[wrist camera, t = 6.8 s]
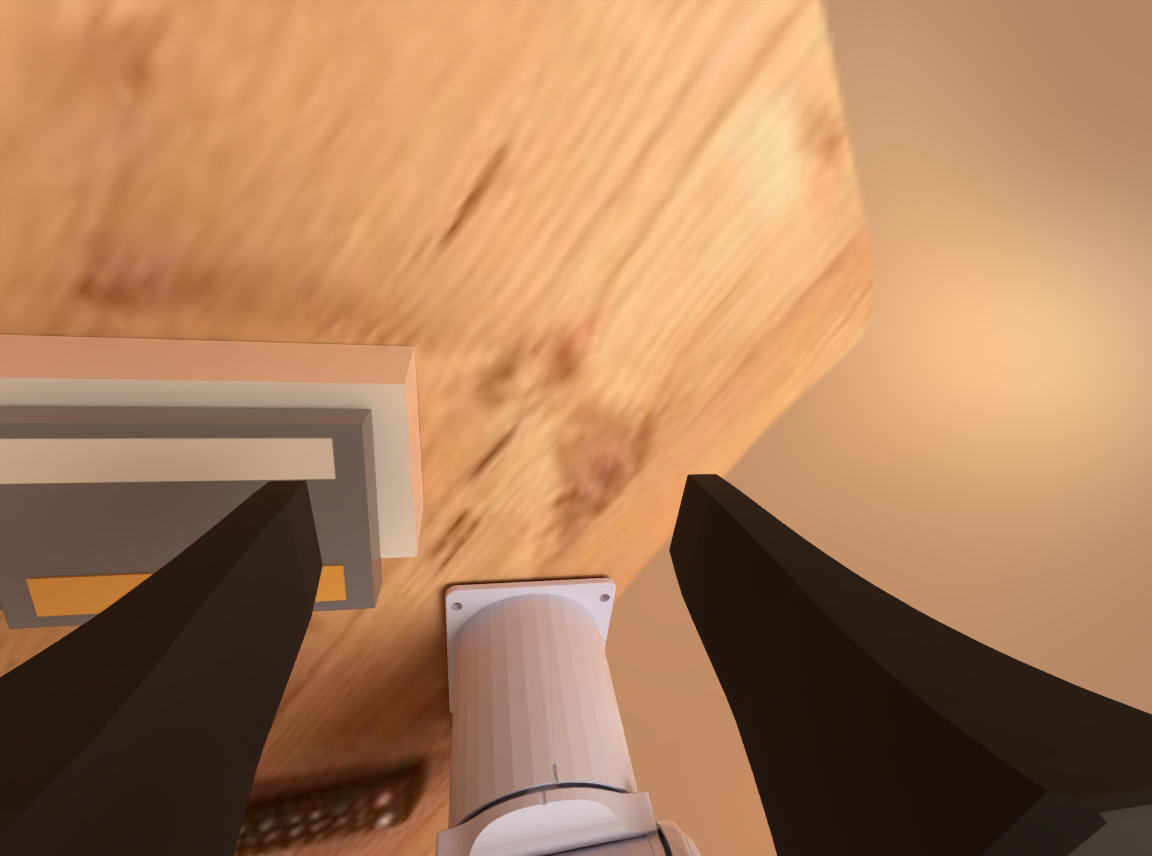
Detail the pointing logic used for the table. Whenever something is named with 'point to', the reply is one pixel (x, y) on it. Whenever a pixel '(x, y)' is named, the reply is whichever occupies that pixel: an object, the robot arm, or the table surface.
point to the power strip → (240, 394)
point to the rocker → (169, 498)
